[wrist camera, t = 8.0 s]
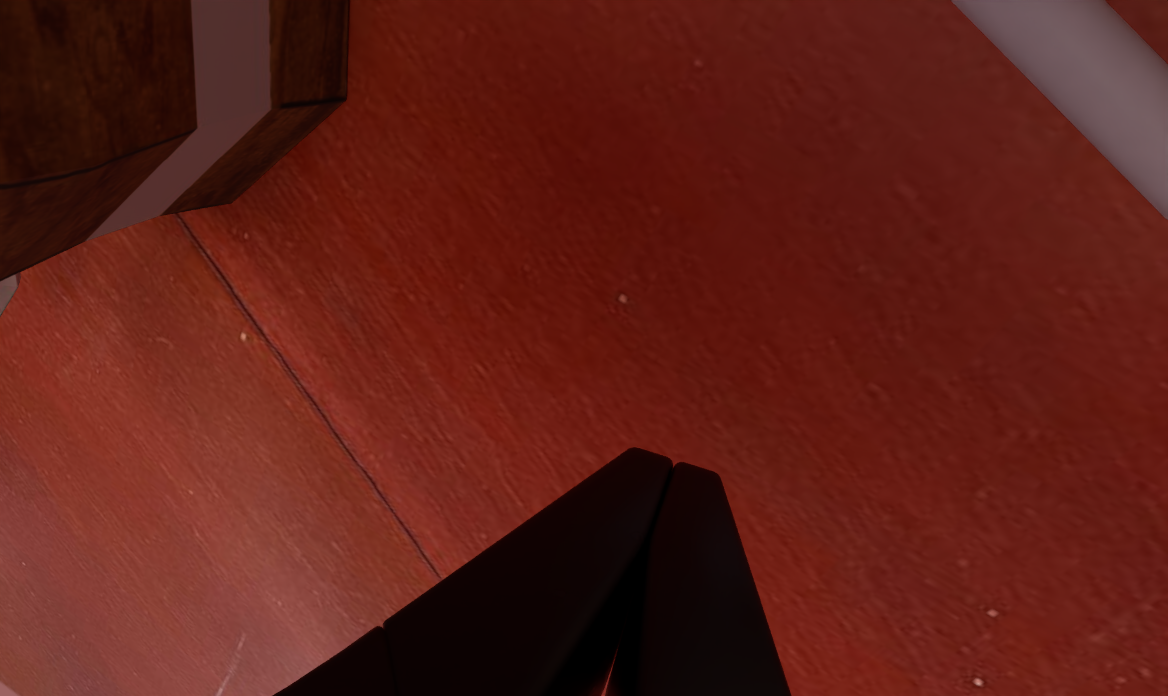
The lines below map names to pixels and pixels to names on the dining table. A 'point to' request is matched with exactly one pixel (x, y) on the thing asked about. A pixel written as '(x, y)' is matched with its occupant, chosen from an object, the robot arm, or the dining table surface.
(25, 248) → the mug
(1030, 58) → the drawer
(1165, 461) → the dining table surface
